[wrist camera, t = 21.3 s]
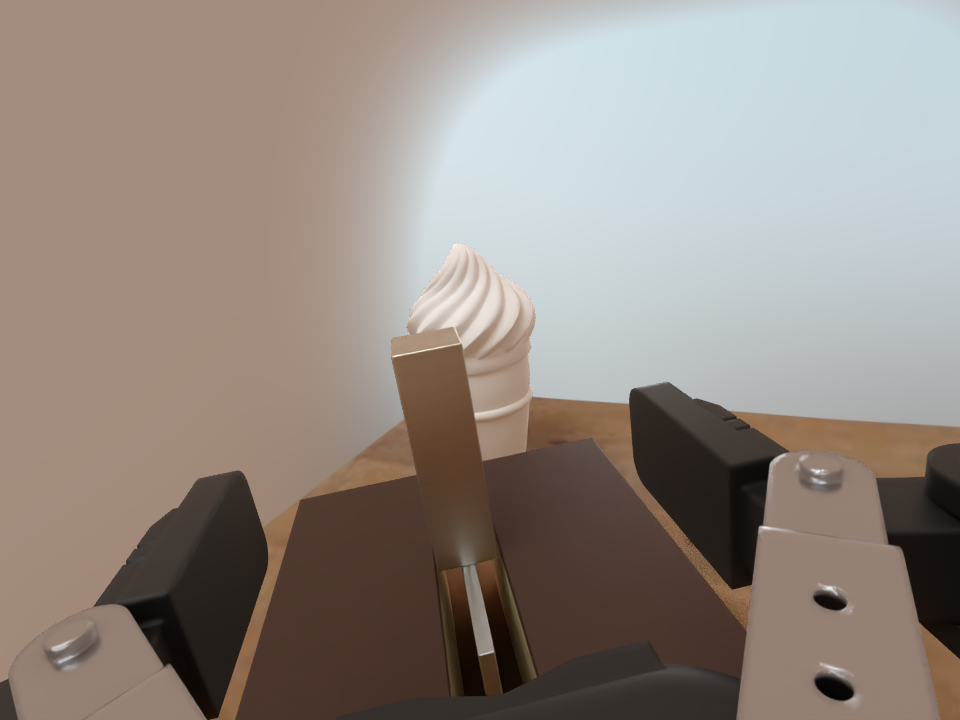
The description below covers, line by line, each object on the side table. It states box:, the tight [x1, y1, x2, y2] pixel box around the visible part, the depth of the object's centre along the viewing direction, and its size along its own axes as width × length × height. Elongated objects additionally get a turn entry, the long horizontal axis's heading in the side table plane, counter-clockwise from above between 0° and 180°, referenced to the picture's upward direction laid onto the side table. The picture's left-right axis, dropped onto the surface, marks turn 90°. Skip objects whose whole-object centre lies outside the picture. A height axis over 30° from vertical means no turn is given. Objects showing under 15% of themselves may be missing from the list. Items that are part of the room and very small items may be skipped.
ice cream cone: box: [407, 244, 535, 461], centre depth 37 cm, size 8×8×16 cm
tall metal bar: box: [391, 327, 503, 696], centre depth 20 cm, size 10×2×15 cm, turn 9°
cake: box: [235, 438, 747, 720], centre depth 20 cm, size 16×14×7 cm
